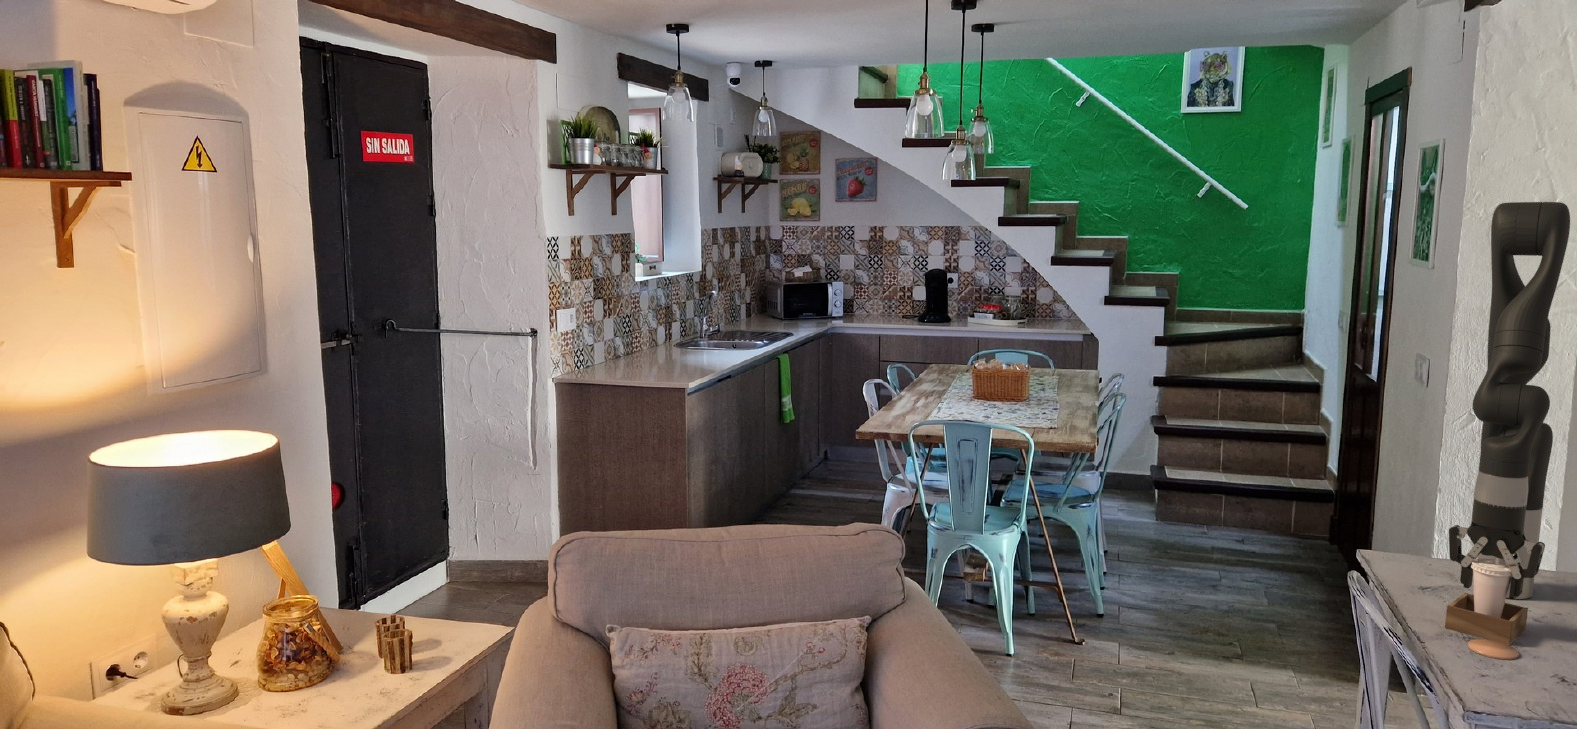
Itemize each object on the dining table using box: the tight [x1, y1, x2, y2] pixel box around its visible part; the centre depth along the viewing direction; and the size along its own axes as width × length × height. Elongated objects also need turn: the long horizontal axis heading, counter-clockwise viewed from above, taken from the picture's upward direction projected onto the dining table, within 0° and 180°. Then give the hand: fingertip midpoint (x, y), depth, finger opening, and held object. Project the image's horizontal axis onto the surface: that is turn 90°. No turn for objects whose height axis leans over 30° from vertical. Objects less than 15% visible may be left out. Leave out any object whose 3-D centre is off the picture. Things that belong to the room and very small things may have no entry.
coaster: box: [1467, 638, 1520, 661], centre depth 175 cm, size 7×7×1 cm
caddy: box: [1444, 592, 1529, 646], centre depth 184 cm, size 10×10×4 cm
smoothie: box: [1471, 558, 1513, 618], centre depth 183 cm, size 6×6×14 cm
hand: (1489, 592), depth 184 cm, fingers closed on smoothie, 6 cm apart
